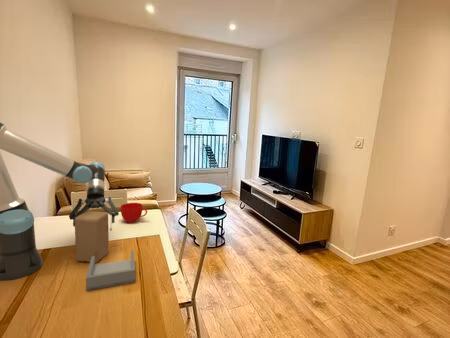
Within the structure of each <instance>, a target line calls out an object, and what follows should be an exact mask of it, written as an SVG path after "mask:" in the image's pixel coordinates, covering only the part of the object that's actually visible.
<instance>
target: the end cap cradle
mask: <svg viewBox="0 0 450 338" xmlns="http://www.w3.org/2000/svg"><path fill="white" fill-rule="evenodd" d="M85 276H86V277H85V282H86V283H85V284H86V287H85V288H86V291H87V292H89V291H94V290H98V288H100V289H105V287H106V288H111V287H115V286H116V287H117V286H122V285H126V284H133V283H136V263H135V251H134V250H130V259H124V260H118V261H110V262H103V263H98V264H97V263H95V256H92V257H91V261H90V262H89V265H88V269H87V274H86V275H85ZM121 284H122V285H121ZM93 289H94V290H93ZM88 290H89V291H88Z"/></svg>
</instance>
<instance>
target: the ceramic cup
mask: <svg viewBox="0 0 450 338" xmlns="http://www.w3.org/2000/svg"><path fill="white" fill-rule="evenodd" d="M119 207H120V209H119V210H120V214H121V216H122V218H123V220H124V221H125V222H126V223H128V224H131V223H132V224H133V223H136V222H138V221H139V219H141V218H143V217H145V216H146V215H147V213H148V210H147V208H143V204H142V203H140V202H139V203H138V202H128V203H127V202H126V203H123V204H121V205H120V206H119ZM143 211H145V213H144V214H142V213H143Z"/></svg>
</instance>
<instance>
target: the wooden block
mask: <svg viewBox="0 0 450 338" xmlns="http://www.w3.org/2000/svg"><path fill="white" fill-rule="evenodd" d="M74 237H75V238H74V240H75V242H74V244H75V260H76V261H77V262H84V261H86V263H90V261H91V257H92V256H95V262H96V263H98V262H99V260H100V259H101V260H102V259H103V258H104V257H105V256H106V255H107V254H108V253H109V214H108V213H107V212H106V211H96V210H95V211H94V210H87V211H86V212H85V213H83V214H81V215H79V216H78V217H76V218H75V227H74ZM101 260H100V261H101Z"/></svg>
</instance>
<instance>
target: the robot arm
mask: <svg viewBox="0 0 450 338" xmlns="http://www.w3.org/2000/svg"><path fill="white" fill-rule="evenodd" d="M0 150H2V151H4V152H7V153H9V154H12V155H14V156H17V157H19V158H21V159H24V160H26V161H28V162H30V163H33V164H36V165H37V166H40V167H43V168H45V169H47V170H49V171H51V172H54V173H57V174H59V175H61V176H64V177H65V178H68V179H70V180H72V181H74V182H75V183H77V184H87V187H86V188H87V189H86V199H82V198H79V199H78V202H77V203H76V205H75V207H74V208H73V210H72V211H71V213H70V214H69V215H68V217H69V220H73V222H72V226H73V227H74V228H75V218H76V217H78V216H79V215H81V214H83V213H85V212H87V211H90V209H99V208H101V209H102V210H104V212H107V213H108V215H109V231H113V228H112V227H113V224H114V223H115V222H116V221H115V217H117V216H119V215H120V214H119V211H118V209H117V208H116V206H115V204H114V202H113V201H112V198H111V196H108V197H107V198H105V177H106V176H105V175H106V167H105V165H104V164H103V163H102V162H100V161H92V162H90V163H89V164H85V163H82V162H77V161H76V160H73V159H71V158H68V157H67V156H65V155H63V154H62V153H61V154H60V153H58V152H56V151H54V150H52V149H50V148H47V146H43V145H41V144H40V143H37V142H35V141H33V140H31V139H29V138H27V137H25V136H24V135H21V134H18V133H17V132H14V131H12V130H9V129H8V128H7V126H6V124H3V123H2V122H0ZM105 202H106V203H107V204H108V205H109V206H110V208H109V207H108V206H107V205H106V204H105ZM84 204H85V205H84ZM83 205H84V206H83ZM82 206H83V207H82ZM81 207H82V208H81ZM35 233H36V232H35V217H34V214H33V212H32V211H31V210H30V209H29V207H28V204H27V202H26V200H25V199H24V198H21V197H19V195H18V192H17V190H16V187H15V185H14V183H13V180H12V178H11V175H10V173H9V170H8V167H7V166H6V163H5V160H4V158H3V155H2V153H1V152H0V280H1V281H9V280H16V279H19V278H23V277H26V276H29V275H31V274H33V273H35V272H37V271H38V270H40V269H41V268H40V267H42V266H43V263H44V262H43V258H42V255H41V254H40V252H39V250H38V249H37V245H36V243H37V242H36V234H35Z"/></svg>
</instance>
